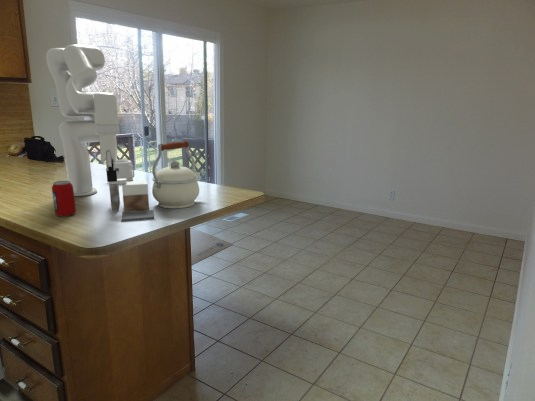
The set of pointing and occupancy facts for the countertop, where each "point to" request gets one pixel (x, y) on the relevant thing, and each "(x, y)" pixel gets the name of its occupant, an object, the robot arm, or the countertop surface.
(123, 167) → the mug
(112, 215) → the countertop surface
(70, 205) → the beverage can
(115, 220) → the countertop surface
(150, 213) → the mat
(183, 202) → the kettle
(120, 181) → the latch
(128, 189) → the cover
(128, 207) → the housing
